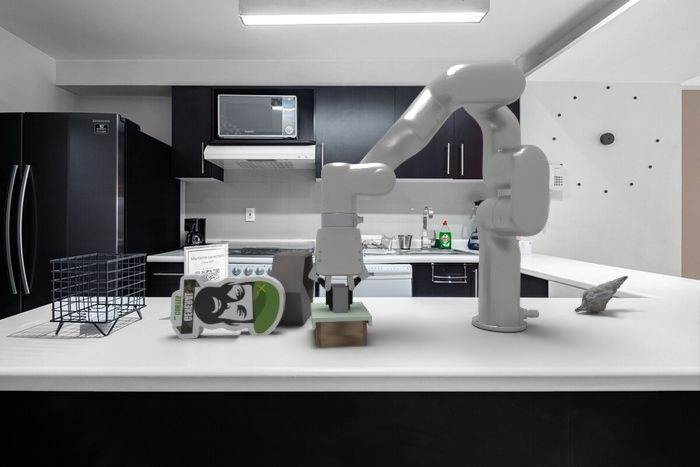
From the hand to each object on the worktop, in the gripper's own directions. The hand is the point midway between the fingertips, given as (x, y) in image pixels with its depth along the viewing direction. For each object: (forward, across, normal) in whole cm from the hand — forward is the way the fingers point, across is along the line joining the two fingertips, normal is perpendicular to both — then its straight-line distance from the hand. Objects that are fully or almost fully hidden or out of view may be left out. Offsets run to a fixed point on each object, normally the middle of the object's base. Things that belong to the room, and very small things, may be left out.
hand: (339, 307), depth 83 cm
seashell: (+7, -75, -15) cm, 77 cm away
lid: (+2, 0, 0) cm, 2 cm away
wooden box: (+7, 0, 0) cm, 7 cm away
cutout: (+8, +24, -6) cm, 26 cm away
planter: (+8, +10, -17) cm, 21 cm away
